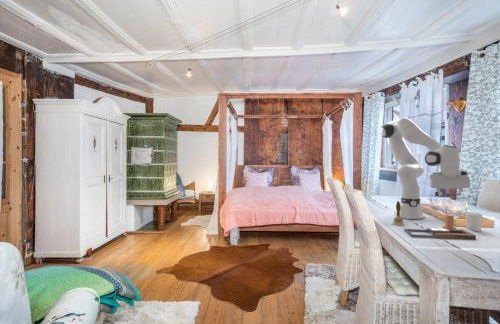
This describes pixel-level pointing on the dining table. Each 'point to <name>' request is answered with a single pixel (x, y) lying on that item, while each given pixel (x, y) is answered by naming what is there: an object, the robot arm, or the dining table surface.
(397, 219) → the hand bell
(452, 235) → the slot board
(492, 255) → the dining table surface
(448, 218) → the stepped wedge block
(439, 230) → the grey square block
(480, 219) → the white cup
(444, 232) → the light grey block
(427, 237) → the tray
